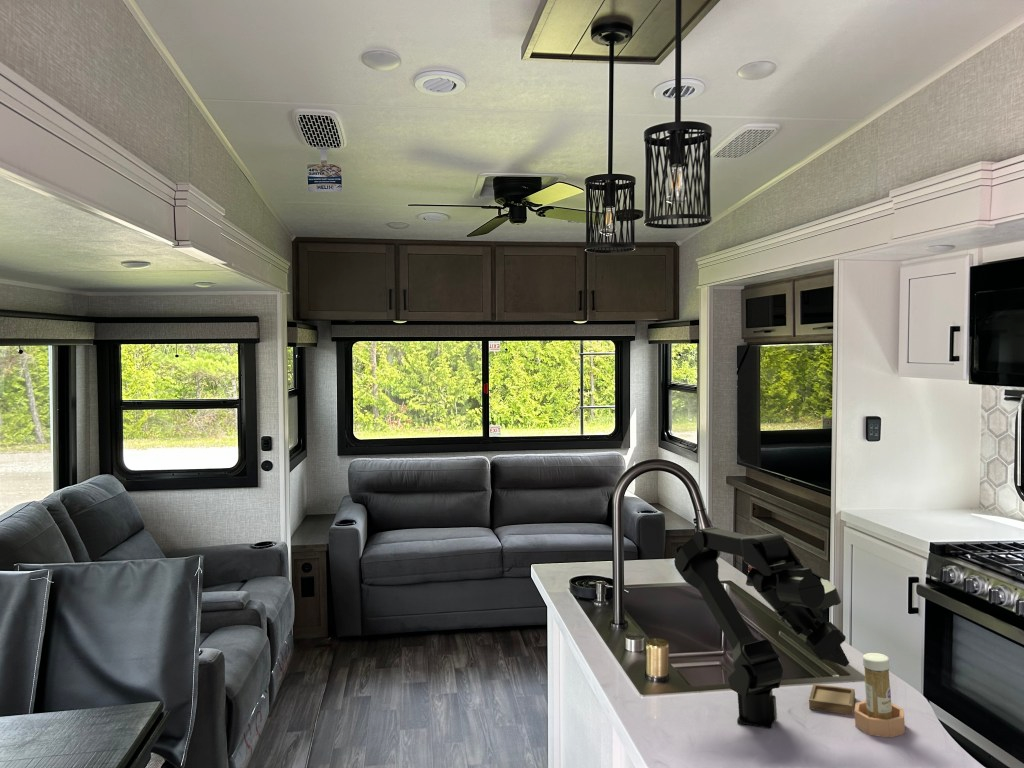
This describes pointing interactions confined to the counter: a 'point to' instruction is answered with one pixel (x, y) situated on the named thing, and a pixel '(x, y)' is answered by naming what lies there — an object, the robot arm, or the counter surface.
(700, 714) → the counter surface
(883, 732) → the holder ring
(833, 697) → the walnut tray
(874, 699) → the sprinkles bottle
